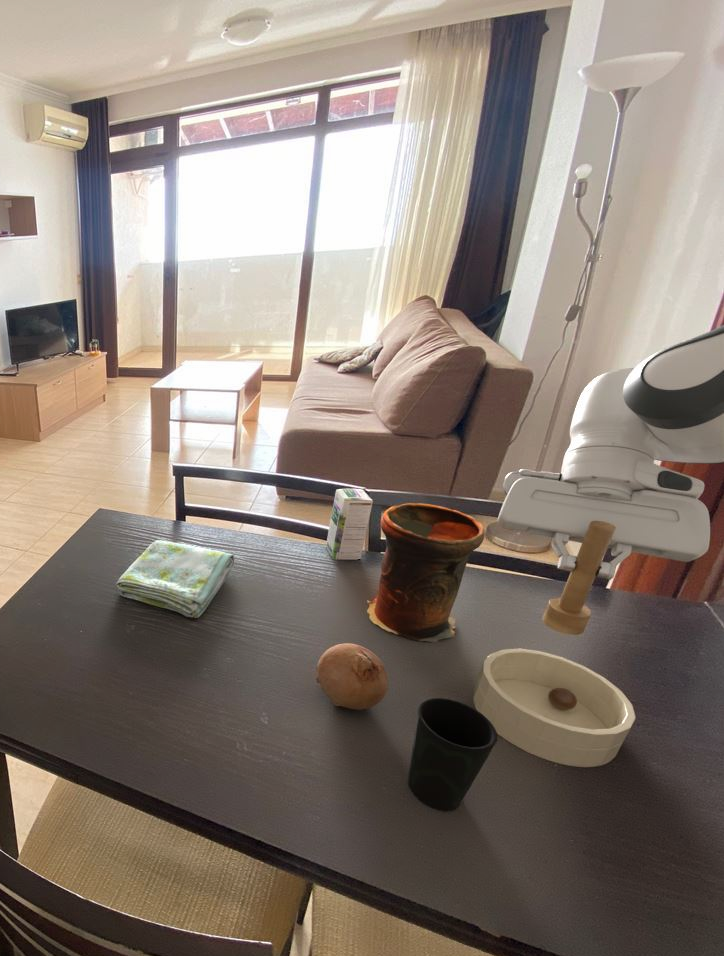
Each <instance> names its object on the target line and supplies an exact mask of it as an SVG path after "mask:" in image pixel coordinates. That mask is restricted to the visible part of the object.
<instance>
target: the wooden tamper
mask: <svg viewBox="0 0 724 956" xmlns="http://www.w3.org/2000/svg"><path fill="white" fill-rule="evenodd" d="M615 529H616V527H615V526H614V525H612V524H610V523H607V522H603V521H591V522H590V524H589V527H588V529H587V532H586V534H585V537H584V539H583V542H582V543H581V545H580V547H579V550H578V552H577V555H576V557H577V560H576V562H575V564H576V565H575V569H574V570H573V571H572V572H571V571H570V573H569V575H568V578H567V581H566V583H565V585H564V588H563V591H562V593H561V596H560V597H554V598H551V599H549V600H548V603H547V605H546V607H545V610H544V613H543V615H542V622H543V624H544V625H546V626H547V627H548V628H550V629H551V630H553V631H555V632H558V633H561V634H566V635H570V636H571V635H572V636H578V635H581V634H583V633H584V632H585V629H586V627H587V625H588V622H589V620H590V618H591V615H592V611H591V610H590V608H589V607H587V606H586V605H585V604H586V601H587V598H588V596H589V593H590V592H591V589H592V586H593V584H594V582H595V580H596V578H597V577H596V574H597V572H598V570H599V567H600V565H601V562H603V560H604V557H605V555H606V553H607V550H608V549H609V548H608V546H609V543H610V541H611V538H612V536H613V534H614V531H615Z"/></svg>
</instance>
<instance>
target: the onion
mask: <svg viewBox="0 0 724 956" xmlns="http://www.w3.org/2000/svg"><path fill="white" fill-rule="evenodd" d="M316 672H317V673H316V675H317V677H316V679H315V680H316V682H317V684H319V685H320V687H321V689H322V690H323V692H324V693H325V695H326V696H327V697H328V698H329V699H330V700H331V703H332V704H333V705H334V706H337V707H342V708H343V707H344V708H347V709H350V710H356V711H357V710H358V711H361V710H367V709H370V708H372V707H374V706H376V705H378V704H379V703H381V702H382V701H383V699H385V697H386V696H387V693H388V690H389V677H388V673H387V670H386V667H385V665H384V663H383V661H382V660H381V659H380V658H379V657H378V656H377V655H376V654H375V653H374V652H372V651H371V650H369V649H368V648H366V647H364V646H361V645H359V644H355V643H349V642H347V643H345V642H344V643H339V644H336V645H335V644H334V645H333V646H330V648H328V649H326V650H325V651H324V653H322V655H321V656H320V658H319V660H318V662H317V666H316Z"/></svg>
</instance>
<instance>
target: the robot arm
mask: <svg viewBox="0 0 724 956" xmlns="http://www.w3.org/2000/svg"><path fill="white" fill-rule="evenodd" d="M569 439H570V444H569V447H568V448H567V450H566V452H565V454H564V456H563V459H562V465H561V470H560V473H557V472H550V471H537V470H532V469H525V468H523V469H522V468H521V469H520V470H516V471H512V472H509V473H508V474H507V475H506V476H505V478H504V480H503V485H502V492H503V493H504V494H505V495H506V496H505V498H504V501H503V503H502V505H501V508H500V510H499V514H498V517H497V521H496V522H497V523H498V525H499V526H500V527H501V529H504V530H508V531H514V532H520V533H525V534H531V535H536V536H542V537H547V538H552V539H551V543H550V545H551V548H552V549H553V551H554V552H555V554H556V557H558V563H557V569H558V570H562V571H567V572H570V573H571V572H572V571H573V570H574V569H575V565H576V564H575V562H576V560H577V555H571V554H570V553H569V551H568V549H567V547H566V545H567V544H568V543H569V542H574V543H578V544H579V543H580V544H582V542H583V539H584V537H585V534H586V532H587V529H588V527H589V524H590V522H591V521H603V522H607V523H610V524H612V525H614V526H615V527H616V529H615V531H614V534H613V536H612V538H611V541H610V543H609V546H608V548H607V549H611V551H610V553H611V554H610V555H611V556H612V557H615V558H613V559H612V560H611V561H609V562H607V561H602V562H601V565H600V567H599V570H598V572H597V574H596V577H595V578H601V579H604V580H612V579H613V578H614V577H615V575H616V570H617V569H616V568H617V566H618V565H620V563H621V562H623V561H624V560H625V559H627V558H628V557H629V556H631V554H632V553H633V554H634V553H635V554H639V555H645V556H650V557H655V558H660V559H661V558H662V559H665V560H673V561H677V562H683V563H688V562H692V561H694V560H696V559H699V558H700V557H702V556H704V555H705V554H706V553H707V552H708V551H709V547H710V540H711V519H710V513H709V509H708V507H707V506H706V504H705V503H703V501H701V500H700V499H699V498H700V497H701V496H702V494H703V493H704V490H705V486H706V485H705V483H704V481H703V480H701V479H699V478H696V477H694V476H691V475H687V474H684V473H681V472H679V471H676V470H672V469H669V468H667V467H664V466H663V465H659V464H656V463H655V461H658V462H659V461H660V462H665V463H666V462H667V463H677V464H678V463H679V464H700V465H701V464H703V465H704V464H705V465H709V464H710V465H713V464H724V324H722V325H721V326H719V327H716V328H715V329H712V330H710V331H707V332H705V333H703V334H700V335H697V336H694V337H691V338H688V339H686V340H683V341H680V342H677V343H675V344H673V345H670V346H668V347H666V348H663V349H661V350H659V351H657V352H655V353H653V354H652V355H649V356H648V357H646V358H645V359H644V360H643V361H641V362H640V363H639V364H637V366H635V367H625V368H619V369H615V370H611V371H608V372H604V373H602V374H601V375H598V376H597V377H595V378H594V379H592V380H591V381H590V382H589V383H588V384H587V386H585V388H584V389H583V391H582V392H581V394H580V396H579V398H578V401H577V403H576V407H575V408H574V412H573V414H572V418H571V423H570V428H569Z"/></svg>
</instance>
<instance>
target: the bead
mask: <svg viewBox="0 0 724 956" xmlns="http://www.w3.org/2000/svg"><path fill="white" fill-rule="evenodd" d="M548 699H549V701H550V703H551V704H552V705H553V706H555V707H556V708H558V709H561V710H571V709H573V708H574V707H575V706H576V704H577V699H576V697H575V695H574V694H573V693H572V692H571V691H569V690H567V689H564V688H554V689H552V690H551V691H550V692H549V694H548Z"/></svg>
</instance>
